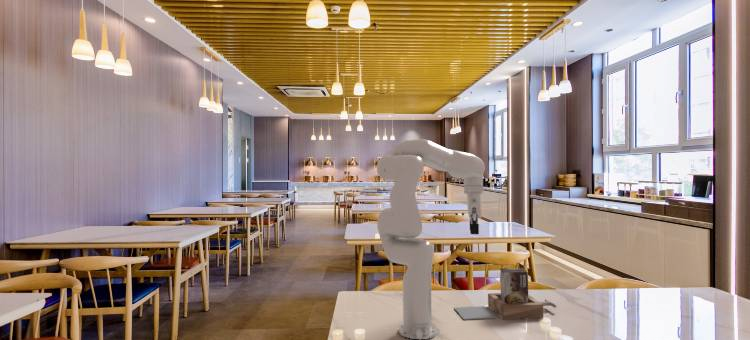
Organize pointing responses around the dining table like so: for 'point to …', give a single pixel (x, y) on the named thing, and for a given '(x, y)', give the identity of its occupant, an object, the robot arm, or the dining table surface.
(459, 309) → the mat
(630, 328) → the dining table surface
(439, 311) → the dining table surface
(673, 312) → the dining table surface
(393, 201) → the robot arm
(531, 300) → the open brown box
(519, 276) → the coffee box
